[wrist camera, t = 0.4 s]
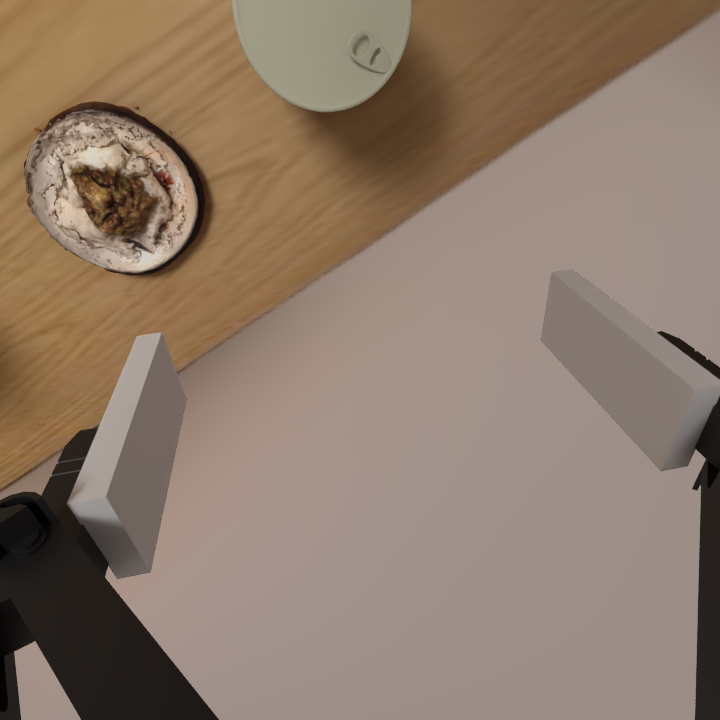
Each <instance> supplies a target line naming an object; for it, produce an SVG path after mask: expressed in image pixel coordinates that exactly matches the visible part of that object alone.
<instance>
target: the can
mask: <svg viewBox="0 0 720 720" xmlns="http://www.w3.org/2000/svg"><path fill="white" fill-rule="evenodd" d="M232 9H233V15H234V22H235V26H236V30H237V34H238V37H239V40H240V42H241V45H242V48H243V50H244V52H245V55H246V56H247V58H248V60H249V62H250V64H251V65H252V67H253V69H254V70H255V71H256V73H257V74H258V76H259V77H260V78H261V79H262V80H263V82H264V83H265V84H266V85H267V86H268V87H269V88H270V89H271V90H272V91H274V92H275V93H276V94H277V95H279V96H280V97H282V98H283V99H284V100H286V101H288V102H290V103H291V104H293V105H296V106H298V107H301V108H303V109H307V110H311V111H317V112H336V111H342V110H346V109H349V108H352V107H355V106H357V105H359V104H361V103H363V102H364V101H366V100H367V99H369V98H370V97H372V96H373V95H374V94H375V93H376V92H378V91H379V90H380V89H381V88H382V87H383V86H384V85H385V83H386V82H387V81H388V79H389V78H390V77H391V75H392V74H393V72H394V71H395V69H396V67H397V66H398V64H399V62H400V60H401V57H402V55H403V53H404V50H405V47H406V44H407V40H408V36H409V31H410V26H411V17H412V0H232Z"/></svg>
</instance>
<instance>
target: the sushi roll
mask: <svg viewBox="0 0 720 720" xmlns="http://www.w3.org/2000/svg"><path fill="white" fill-rule="evenodd" d="M133 107H134V108H136V109H137V108H138V106H137V105H136V104H133ZM34 130H36V131H37V132H38V133H39V134H38V137H37V138H36V141H34V143H33V144H32V146H31V148H30V152H29V153H28V157H27V159H26V161H25V163H24V172H23V174H24V176H25V181H26V182H25V183H26V192H27V193H30V196H29V198H28V199H27V203H28V205H29V207H30V209H31V212H32V213H33V214H34V215H35V216H36V217H37V219H38V220H39V221H40V223H41V225H43V226H44V227H45V228H46V230H47V231H48V232H49V233H50V237H52V238H53V239H55V240H56V241H57V242H58V243H59V244H60V245H61V246H63V247H64V248H65V250H69V251H70V252H72V253H73V254H74V255H76V256H78V257H80V258H82V259H84V260H86V261H88V262H89V263H92V264H94V265H97V266H99V267H101V268H104V269H105V270H107V271H110V272H113V273H121V274H126V275H143V274H151V273H155V272H157V271H159V270H161V269H163V268H165V267H166V266H168V265H169V264H171V263H172V262H173V261H174V260H175V259H177V258H178V257H179V256H180V255H181V254H182V253H183V252H184V251H185V250H186V249H187V248H188V247H189V245H190V244H191V243H192V242H193V241H194V239H195V238H196V236H197V234H198V232H199V230H200V227H201V224H202V221H203V215H204V205H205V199H204V192H203V188H202V184H201V181H200V178H199V175H198V173H197V171H196V169H195V167H194V165H193V164H192V162H191V160H190V159H189V157H188V156H187V155H186V154H185V153H184V152H183V151H182V149H181V148H180V147H179V146H178V145H177V143H176V142H175V140H174V139H172V138H170V137H168V136H167V135H166V134H165V133H164V132H163V131H162V130H161V129H159V128H158V127H156V126H155V125H153V124H152V123H150V122H149V121H148V120H147V119H146V118H145V117H142V116H140V115H138V114H136V113H134V112H133V111H132V110H130V109H129V108H127V107H124V106H116V105H112V104H109V103H103V102H87V103H81V104H78V105H76V106H74V107H71V108H69V109H67V110H65V111H63V112H61V113H60V114H58V115H56V116H55V117H53V118H52V119H51V120H50V121H49V123H48V125H47V126H46V128H45V129H44V130H43V131H41V132H40V130H39V129H38V128H34ZM169 131H170V130H169ZM170 133H172V132H171V131H170Z"/></svg>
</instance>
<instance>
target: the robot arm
mask: <svg viewBox="0 0 720 720" xmlns="http://www.w3.org/2000/svg"><path fill="white" fill-rule="evenodd" d="M541 341H542V342H543V343H544V344H545V345H546V346H547V347H548V348H549V349H550V351H551V352H552V353H553V354H554V355H555V356H556V357H557V358H558V359H559V361H561V363H562V364H563V365H564V366H565V367H566V368H567V369H568V370H569V371H570V373H572V375H573V376H574V377H575V378H576V379H577V380H578V381H579V382H580V383H581V385H582V386H583V387H584V388H585V389H586V390H587V391H588V392H589V393H590V394H591V395H592V396H593V398H594V399H595V400H596V401H597V402H598V403H599V404H600V405H601V406H602V407H603V408H604V409H605V411H606V412H607V413H608V414H609V415H610V416H611V417H612V418H613V419H614V420H615V422H616V423H617V424H618V425H619V426H620V427H621V428H622V429H623V430H624V431H625V432H626V434H627V435H628V436H630V438H631V439H632V440H633V441H634V442H635V443H636V444H637V446H638V447H639V448H640V449H641V450H642V451H643V452H644V453H645V454H646V455H647V456H648V457H649V459H650V460H651V461H652V462H653V463H654V464H655V465H656V466H657V467H658V468H659V469H660V471H664V470H670V469H675V468H680V467H685V466H688V465H689V462H690V460H691V458H692V456H693V454H694V451H695V449H697V451H698V452H700V453H701V454H702V455H703V456H704V457H705V458H706V461H705V463H704V465H703V467H702V469H701V471H700V473H699V475H698V478H697V479H696V481H695V484H694V486H693V489H694V490H698V488H699V486H700V485H701V515H700V553H699V557H700V558H699V592H698V593H699V594H698V631H697V632H698V633H697V669H696V670H697V671H696V709H695V720H720V368H719V367H718V366H717V365H716V364H714V363H713V362H711V361H710V360H706V357H705V356H703V355H702V354H700V353H699V352H698V351H696V352H695V349H694V348H692V347H691V346H689V345H688V344H687V343H685V342H684V341H682V340H681V339H679V338H677V337H674V336H672V335H670V334H667V333H665V332H662V331H661V332H655V331H654V330H653V329H651V328H650V327H649V326H647V325H646V324H645V323H643V322H642V321H641V320H639V319H638V318H637V317H635V316H634V315H633V314H631V313H630V312H629V311H627V310H626V309H625V308H623V307H622V306H621V305H619V304H618V303H617V302H615V301H614V300H613V299H611V298H610V297H609V296H607V295H606V294H605V293H603V292H602V291H601V290H599V289H598V288H597V287H595V286H594V285H593V284H591V283H590V282H589V281H587V280H586V279H585V278H583V277H582V276H581V275H579V274H578V273H577V272H575V271H574V270H566V271H559V272H553V273H552V274H551V280H550V286H549V292H548V298H547V304H546V310H545V317H544V323H543V330H542V335H541ZM186 400H187V399H186V396H185V393H184V390H183V388H182V385H181V383H180V380H179V377H178V374H177V372H176V369H175V366H174V364H173V361H172V358H171V356H170V353H169V350H168V348H167V345H166V342H165V340H164V337H163V334H162V332H160V333H154V334H147V335H141V336H137V337H136V340H135V342H134V344H133V347H132V349H131V352H130V354H129V356H128V359H127V361H126V364H125V366H124V368H123V371H122V373H121V375H120V378H119V380H118V383H117V385H116V387H115V390H114V392H113V395H112V397H111V399H110V402H109V404H108V407H107V409H106V411H105V414H104V416H103V418H102V421H101V423H100V426H99V428H93V429H87V430H81V431H79V432H78V433H77V434H76V435H75V436H74V437H73V438H72V439H71V440H70V442H69V443H68V444H67V445H66V446H65V448H64V450H63V452H62V454H61V456H60V458H59V460H58V464H56V466H55V469H54V471H53V473H52V477H50V479H49V481H48V483H47V485H46V487H45V489H44V491H43V493H42V496H40V495H39V494H37V493H35V492H21V493H17V494H14V495H10V496H8V497H6V498H4V499H2V500H0V720H21V714H20V705H19V696H18V686H17V676H16V666H15V657H14V651H16V650H18V649H20V648H22V647H24V646H26V645H28V644H30V643H32V642H34V641H36V643H37V644H38V646H39V648H40V649H41V651H42V653H43V655H44V656H45V658H46V660H47V662H48V663H49V665H50V667H51V668H52V670H53V672H54V673H55V675H56V677H57V678H58V680H59V682H60V684H61V685H62V687H63V689H64V691H65V692H66V694H67V696H68V697H69V699H70V701H71V703H72V704H73V706H74V708H75V710H76V711H77V713H78V715H79V716H80V718H81V720H219V719H218V718H217V717H216V716H215V714H214V713H213V712H212V710H211V709H210V708H209V707H208V705H207V704H206V703H205V702H204V701H203V699H202V698H201V697H200V696H199V694H198V693H197V692H196V691H195V689H194V688H193V687H192V686H191V684H190V683H189V682H188V681H187V679H186V678H185V677H184V676H183V674H182V673H181V672H180V671H179V669H178V668H177V667H176V666H175V664H174V663H173V662H172V661H171V659H170V658H169V657H168V656H167V654H166V653H165V652H164V651H163V649H162V648H161V647H160V646H159V644H158V643H157V642H156V641H155V639H154V638H153V637H152V636H151V634H150V633H149V632H148V631H147V629H146V628H145V627H144V626H143V624H142V623H141V622H140V621H139V619H138V618H137V617H136V616H135V615H134V613H133V612H132V611H131V609H130V608H129V607H128V606H127V604H126V603H125V602H124V601H123V599H122V598H121V597H120V596H119V594H117V592H116V591H115V589H114V588H113V587H112V586H111V585H110V583H109V582H108V581H107V579H106V578H105V575H106V571H107V568H108V566H109V567H110V569H111V570H112V572H113V573H114V575H115V576H116V577H117V579H120V578H125V577H130V576H135V575H139V574H145V573H150V572H151V568H152V563H153V558H154V553H155V549H156V544H157V539H158V534H159V529H160V525H161V520H162V515H163V510H164V505H165V501H166V496H167V491H168V486H169V481H170V477H171V472H172V467H173V462H174V457H175V452H176V448H177V443H178V438H179V433H180V429H181V424H182V419H183V414H184V409H185V404H186Z"/></svg>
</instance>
